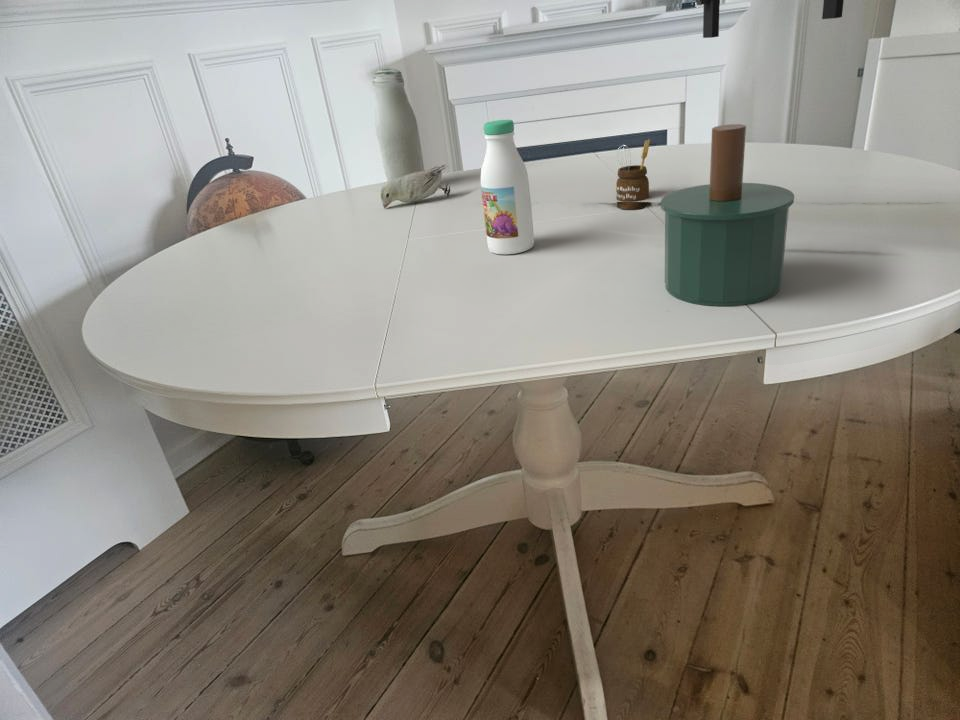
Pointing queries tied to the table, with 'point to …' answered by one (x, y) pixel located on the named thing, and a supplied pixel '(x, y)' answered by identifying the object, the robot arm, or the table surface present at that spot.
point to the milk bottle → (505, 192)
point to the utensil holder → (633, 183)
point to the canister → (725, 258)
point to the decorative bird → (413, 186)
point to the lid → (727, 185)
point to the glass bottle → (396, 126)
